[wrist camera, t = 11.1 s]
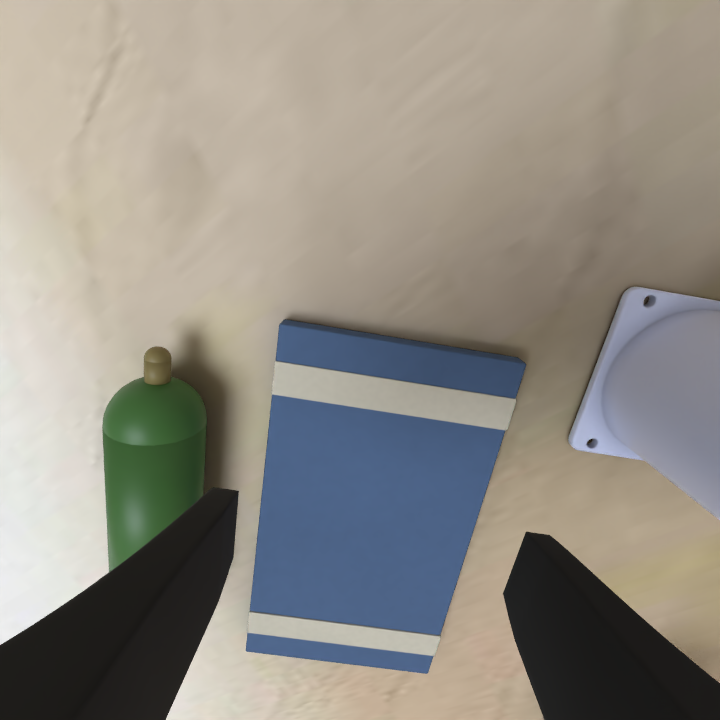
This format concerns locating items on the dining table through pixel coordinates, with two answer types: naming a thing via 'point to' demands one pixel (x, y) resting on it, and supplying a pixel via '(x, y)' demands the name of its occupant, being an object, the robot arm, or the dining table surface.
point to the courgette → (151, 455)
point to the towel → (371, 492)
